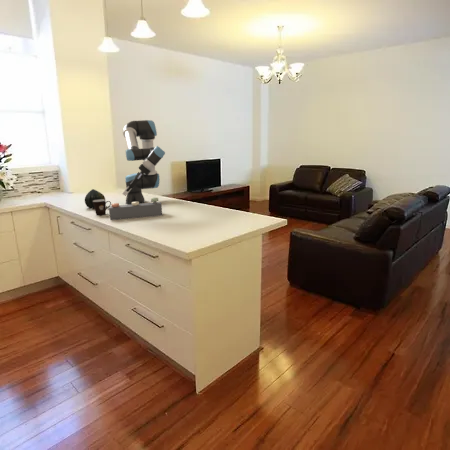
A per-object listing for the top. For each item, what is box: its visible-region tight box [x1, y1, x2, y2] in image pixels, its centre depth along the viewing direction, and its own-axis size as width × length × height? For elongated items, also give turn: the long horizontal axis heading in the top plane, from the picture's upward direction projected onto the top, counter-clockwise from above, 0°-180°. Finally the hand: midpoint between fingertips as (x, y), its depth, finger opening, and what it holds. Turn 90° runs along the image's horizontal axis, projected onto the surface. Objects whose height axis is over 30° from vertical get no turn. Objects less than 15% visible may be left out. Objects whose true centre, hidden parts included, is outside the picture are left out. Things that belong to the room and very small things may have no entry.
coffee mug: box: [93, 199, 112, 216], centre depth 241 cm, size 12×9×10 cm
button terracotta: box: [110, 202, 120, 207], centre depth 227 cm, size 5×5×5 cm
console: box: [108, 201, 163, 221], centre depth 230 cm, size 34×7×8 cm, turn 103°
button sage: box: [150, 197, 159, 204], centre depth 232 cm, size 5×5×5 cm
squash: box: [84, 188, 106, 209], centre depth 264 cm, size 14×15×15 cm
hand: (123, 194), depth 224 cm, fingers closed
